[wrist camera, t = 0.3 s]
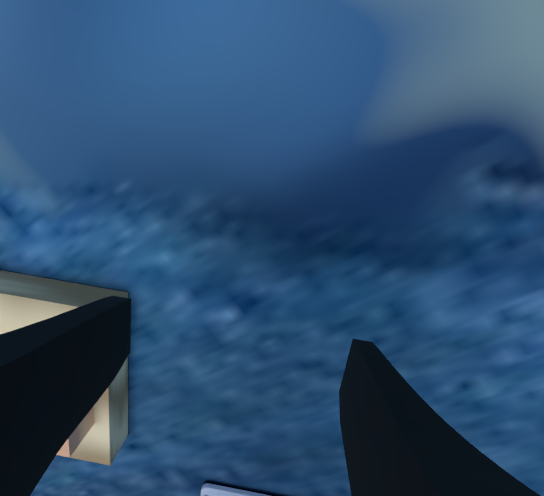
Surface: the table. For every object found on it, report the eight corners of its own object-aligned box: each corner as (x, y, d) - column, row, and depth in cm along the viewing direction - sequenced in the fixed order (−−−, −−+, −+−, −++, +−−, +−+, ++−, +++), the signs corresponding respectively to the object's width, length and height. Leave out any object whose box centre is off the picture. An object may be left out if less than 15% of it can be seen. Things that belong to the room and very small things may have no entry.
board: (127, 435, 26) (110, 465, 24) (-25, 405, 27) (-56, 432, 25) (127, 292, 22) (106, 311, 20) (-51, 261, 23) (-93, 276, 20)
